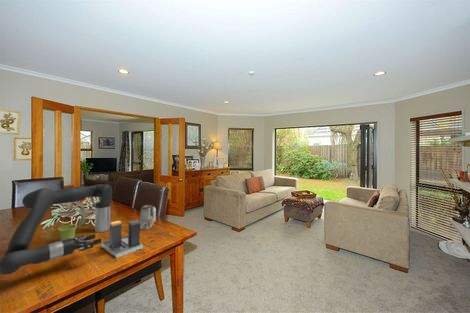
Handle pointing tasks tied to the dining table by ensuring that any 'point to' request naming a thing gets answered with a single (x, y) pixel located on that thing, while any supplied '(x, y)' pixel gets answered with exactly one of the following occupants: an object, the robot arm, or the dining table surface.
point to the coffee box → (146, 217)
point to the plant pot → (67, 231)
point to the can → (154, 214)
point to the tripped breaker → (115, 234)
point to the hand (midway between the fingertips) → (98, 238)
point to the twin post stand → (126, 241)
